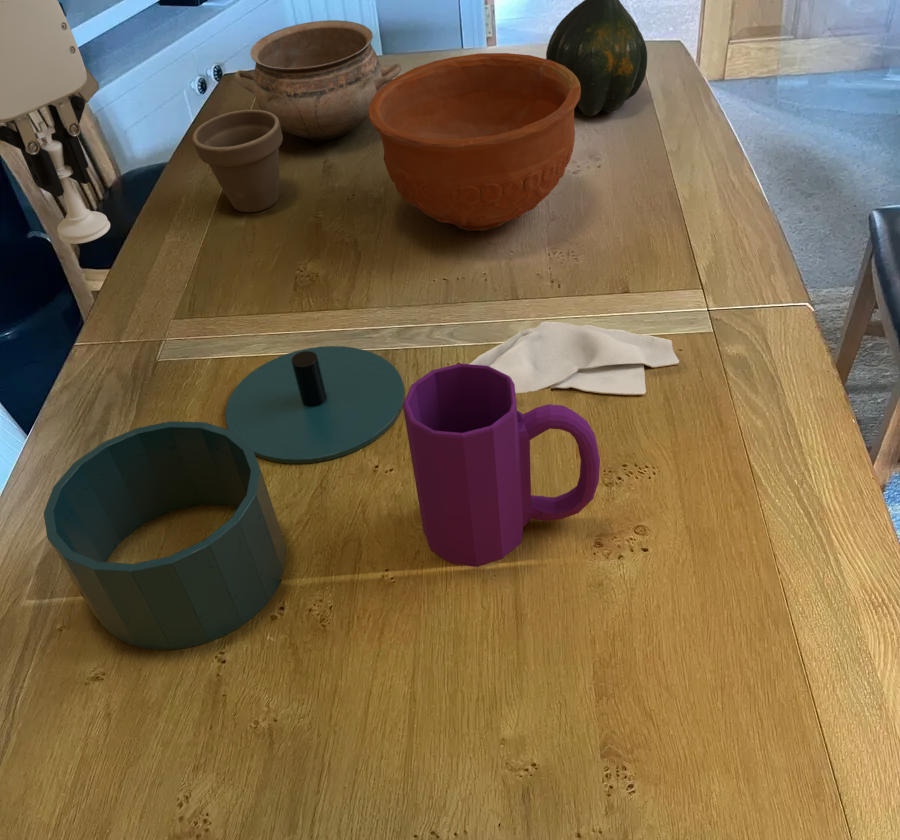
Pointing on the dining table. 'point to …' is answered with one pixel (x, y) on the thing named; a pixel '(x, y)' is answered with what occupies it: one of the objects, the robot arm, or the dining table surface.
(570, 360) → the cloth
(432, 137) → the bowl
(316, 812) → the dining table surface
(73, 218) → the chess piece
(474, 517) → the mug
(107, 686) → the dining table surface
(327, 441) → the lid
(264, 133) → the flower pot
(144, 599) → the pot
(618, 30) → the squash
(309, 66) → the cooking pot
